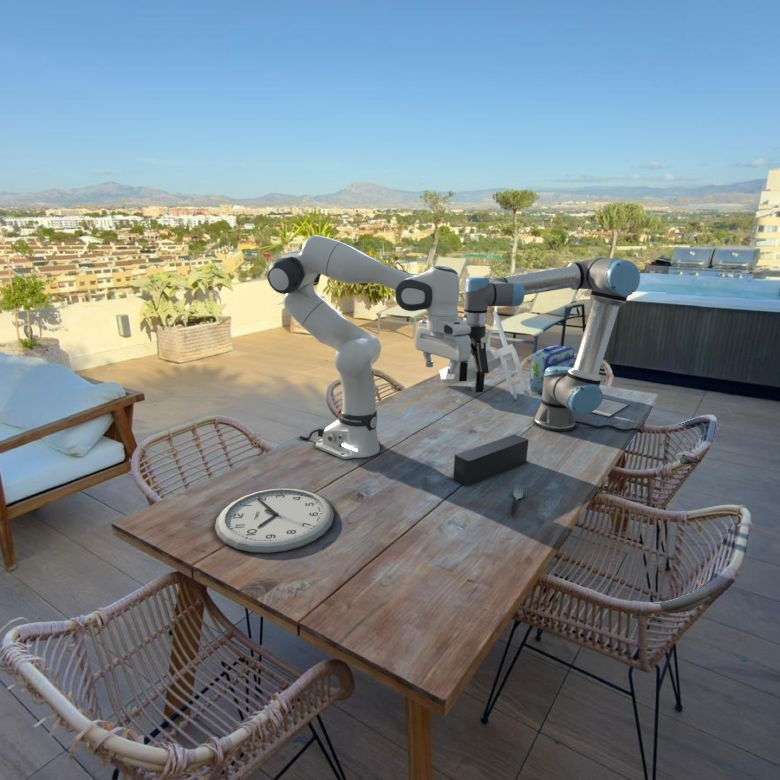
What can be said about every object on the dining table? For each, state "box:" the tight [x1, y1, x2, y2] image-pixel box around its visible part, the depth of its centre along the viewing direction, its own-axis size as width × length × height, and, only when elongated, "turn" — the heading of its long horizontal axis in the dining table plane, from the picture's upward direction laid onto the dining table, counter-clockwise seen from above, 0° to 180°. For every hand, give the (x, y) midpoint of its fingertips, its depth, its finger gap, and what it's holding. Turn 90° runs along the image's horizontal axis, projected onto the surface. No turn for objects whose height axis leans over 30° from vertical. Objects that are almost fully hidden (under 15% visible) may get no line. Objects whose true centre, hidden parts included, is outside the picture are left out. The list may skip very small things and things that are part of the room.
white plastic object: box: [438, 310, 531, 400], centre depth 245 cm, size 37×45×31 cm
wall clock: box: [214, 488, 335, 554], centre depth 135 cm, size 30×2×30 cm
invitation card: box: [591, 398, 629, 418], centre depth 226 cm, size 21×1×15 cm
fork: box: [511, 484, 525, 517], centre depth 145 cm, size 3×16×2 cm, turn 160°
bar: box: [452, 434, 529, 486], centre depth 164 cm, size 28×6×8 cm, turn 128°
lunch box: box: [529, 345, 575, 394], centre depth 245 cm, size 26×11×21 cm, turn 134°
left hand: (440, 370), depth 155 cm, fingers open, 8 cm apart
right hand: (470, 386), depth 178 cm, fingers open, 13 cm apart
